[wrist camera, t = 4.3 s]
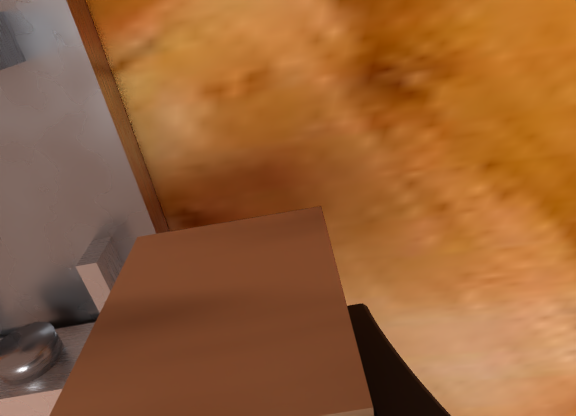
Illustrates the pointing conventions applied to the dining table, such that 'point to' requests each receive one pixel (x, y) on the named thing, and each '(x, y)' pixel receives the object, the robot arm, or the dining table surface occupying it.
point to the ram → (37, 366)
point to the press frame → (64, 169)
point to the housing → (224, 327)
